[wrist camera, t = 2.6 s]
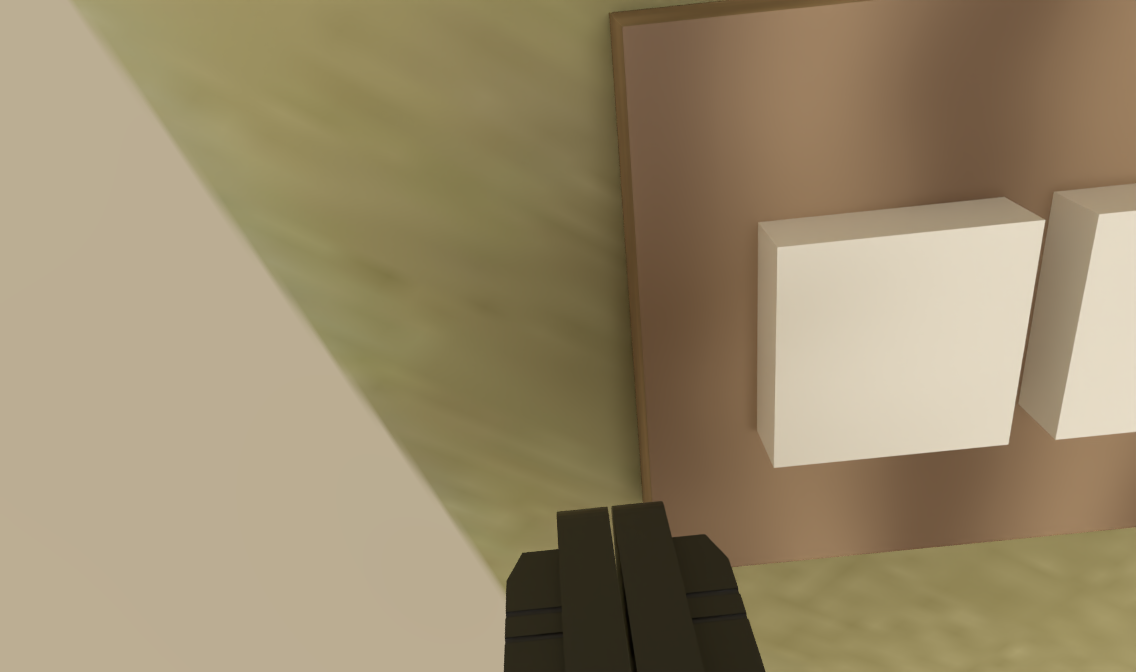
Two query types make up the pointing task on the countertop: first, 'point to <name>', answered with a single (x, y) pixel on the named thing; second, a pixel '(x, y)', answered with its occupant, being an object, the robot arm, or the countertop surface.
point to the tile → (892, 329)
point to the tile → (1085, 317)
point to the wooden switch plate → (835, 186)
